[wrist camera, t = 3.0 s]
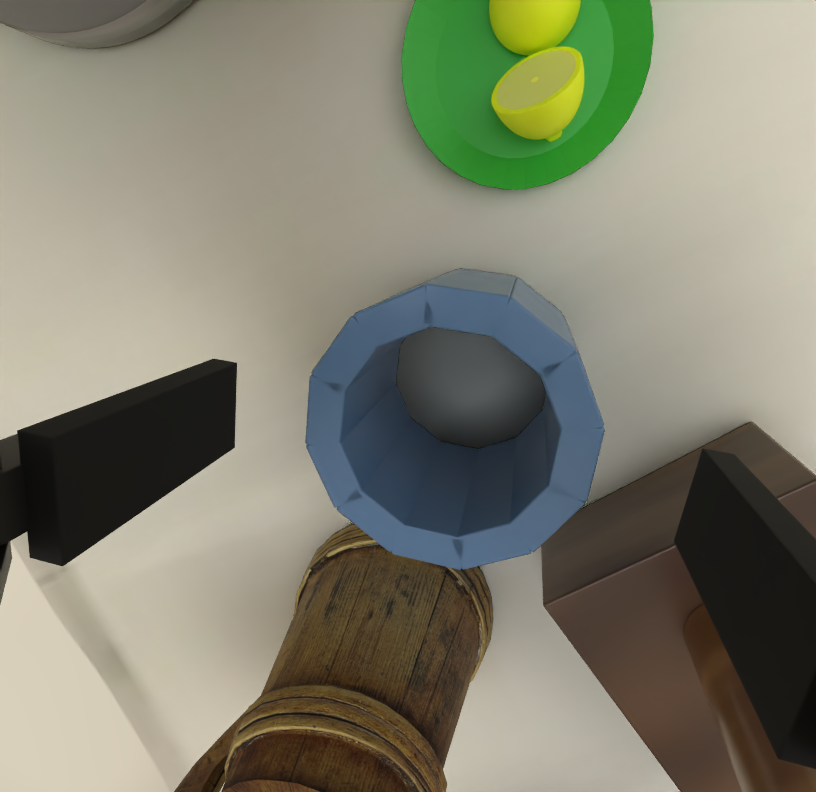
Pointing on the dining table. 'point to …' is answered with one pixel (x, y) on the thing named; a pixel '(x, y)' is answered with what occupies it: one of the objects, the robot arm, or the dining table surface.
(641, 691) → the peg box
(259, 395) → the dining table surface
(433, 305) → the blue faceted cup
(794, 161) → the dining table surface
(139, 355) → the dining table surface
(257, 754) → the wooden mug
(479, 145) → the green plate
